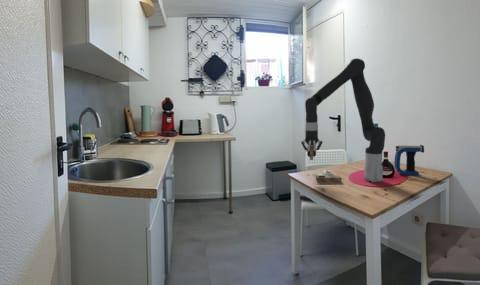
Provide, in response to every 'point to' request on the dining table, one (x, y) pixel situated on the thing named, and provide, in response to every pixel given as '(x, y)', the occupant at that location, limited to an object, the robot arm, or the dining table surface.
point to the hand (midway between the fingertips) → (311, 156)
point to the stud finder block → (327, 173)
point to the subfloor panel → (315, 175)
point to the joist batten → (328, 179)
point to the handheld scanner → (410, 158)
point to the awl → (311, 152)
